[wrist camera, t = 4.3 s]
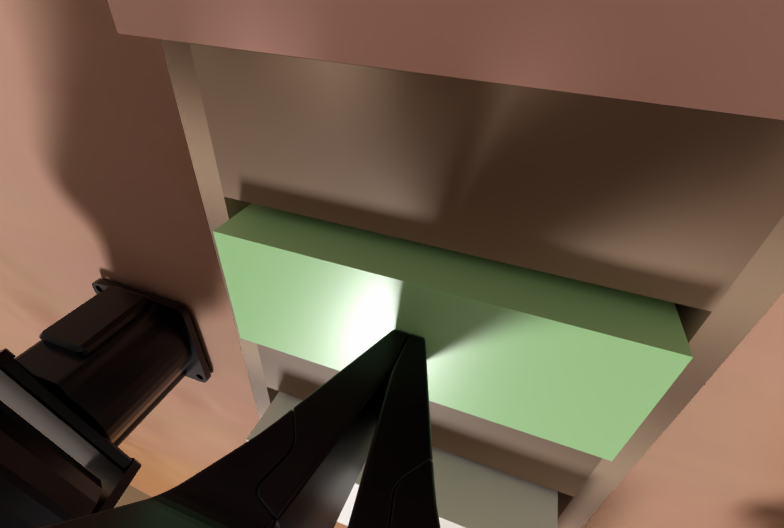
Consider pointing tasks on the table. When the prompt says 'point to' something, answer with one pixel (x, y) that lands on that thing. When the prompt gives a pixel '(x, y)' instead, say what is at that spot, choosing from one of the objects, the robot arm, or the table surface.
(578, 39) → the pink block
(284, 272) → the green block
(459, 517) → the white rectangular block
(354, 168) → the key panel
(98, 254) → the table surface
